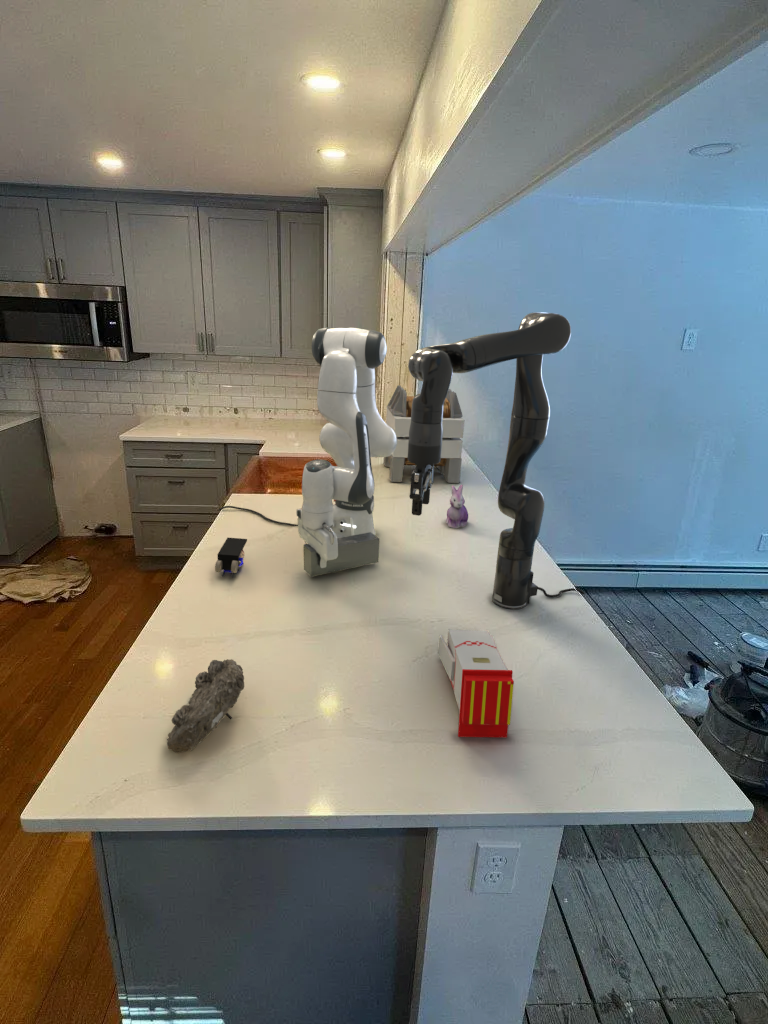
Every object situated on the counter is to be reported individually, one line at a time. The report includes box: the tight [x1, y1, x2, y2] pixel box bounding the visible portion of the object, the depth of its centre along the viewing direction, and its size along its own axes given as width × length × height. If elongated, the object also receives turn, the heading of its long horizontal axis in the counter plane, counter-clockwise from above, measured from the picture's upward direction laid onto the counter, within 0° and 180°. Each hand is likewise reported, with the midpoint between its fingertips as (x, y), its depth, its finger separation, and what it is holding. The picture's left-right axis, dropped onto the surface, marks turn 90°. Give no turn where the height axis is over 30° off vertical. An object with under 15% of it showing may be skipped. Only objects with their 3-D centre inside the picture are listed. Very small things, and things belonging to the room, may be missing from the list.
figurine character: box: [214, 537, 248, 578], centre depth 166 cm, size 7×8×15 cm
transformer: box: [383, 384, 465, 484], centre depth 268 cm, size 34×33×41 cm
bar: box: [302, 532, 380, 578], centre depth 169 cm, size 22×6×8 cm, turn 121°
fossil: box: [166, 658, 245, 754], centre depth 106 cm, size 22×10×15 cm
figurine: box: [445, 484, 469, 529], centre depth 209 cm, size 9×10×15 cm
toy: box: [437, 628, 515, 738], centre depth 117 cm, size 12×13×30 cm
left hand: (317, 562), depth 165 cm, fingers closed on bar, 5 cm apart
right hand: (420, 509), depth 133 cm, fingers open, 8 cm apart
